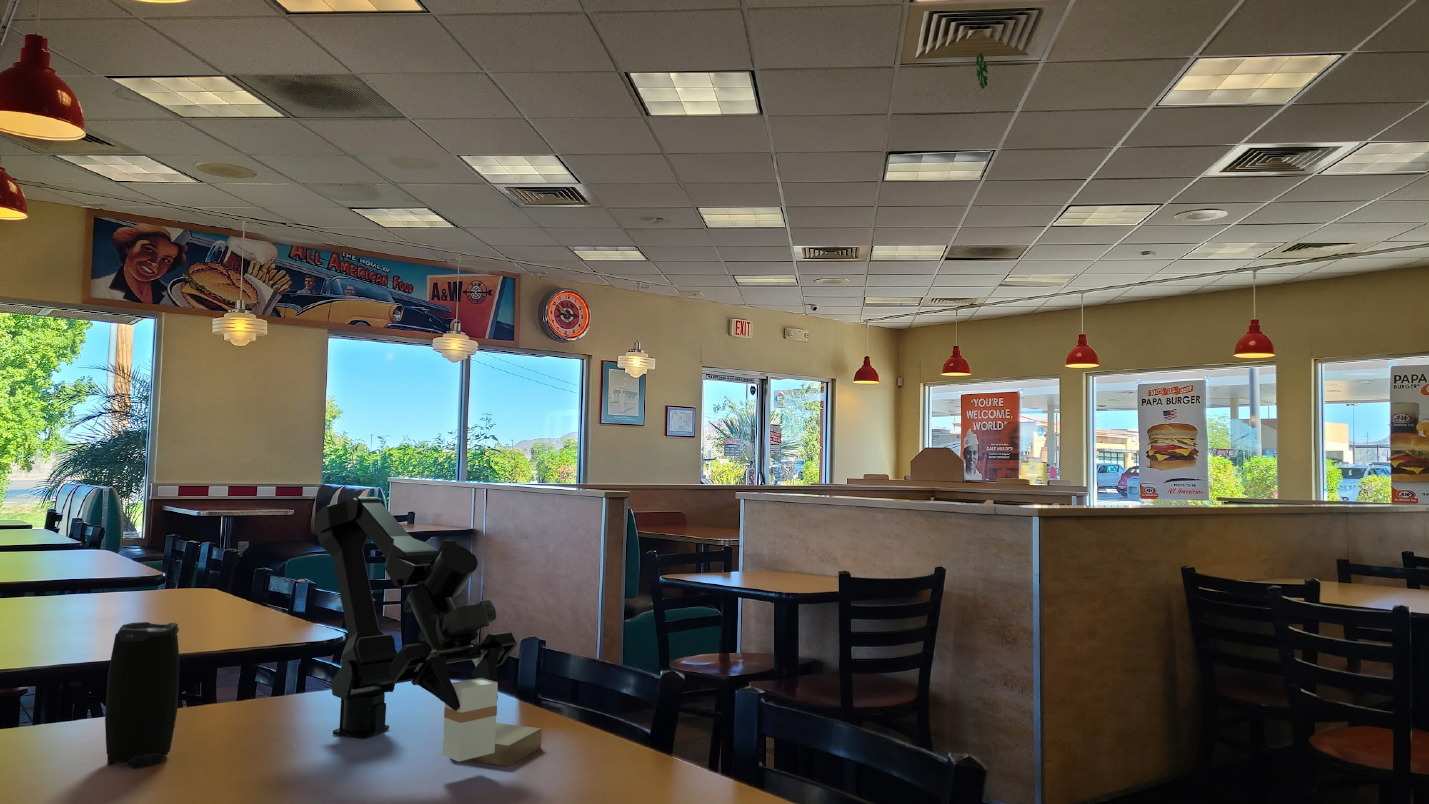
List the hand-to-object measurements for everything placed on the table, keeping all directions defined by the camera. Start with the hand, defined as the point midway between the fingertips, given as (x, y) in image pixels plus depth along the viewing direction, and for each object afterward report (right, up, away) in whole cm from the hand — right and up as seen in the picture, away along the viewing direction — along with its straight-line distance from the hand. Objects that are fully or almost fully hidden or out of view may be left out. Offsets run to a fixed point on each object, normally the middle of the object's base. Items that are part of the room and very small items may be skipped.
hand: (476, 704), depth 135 cm
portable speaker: (-50, -9, +3) cm, 51 cm away
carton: (-1, -7, 0) cm, 7 cm away
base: (0, -11, +11) cm, 16 cm away
